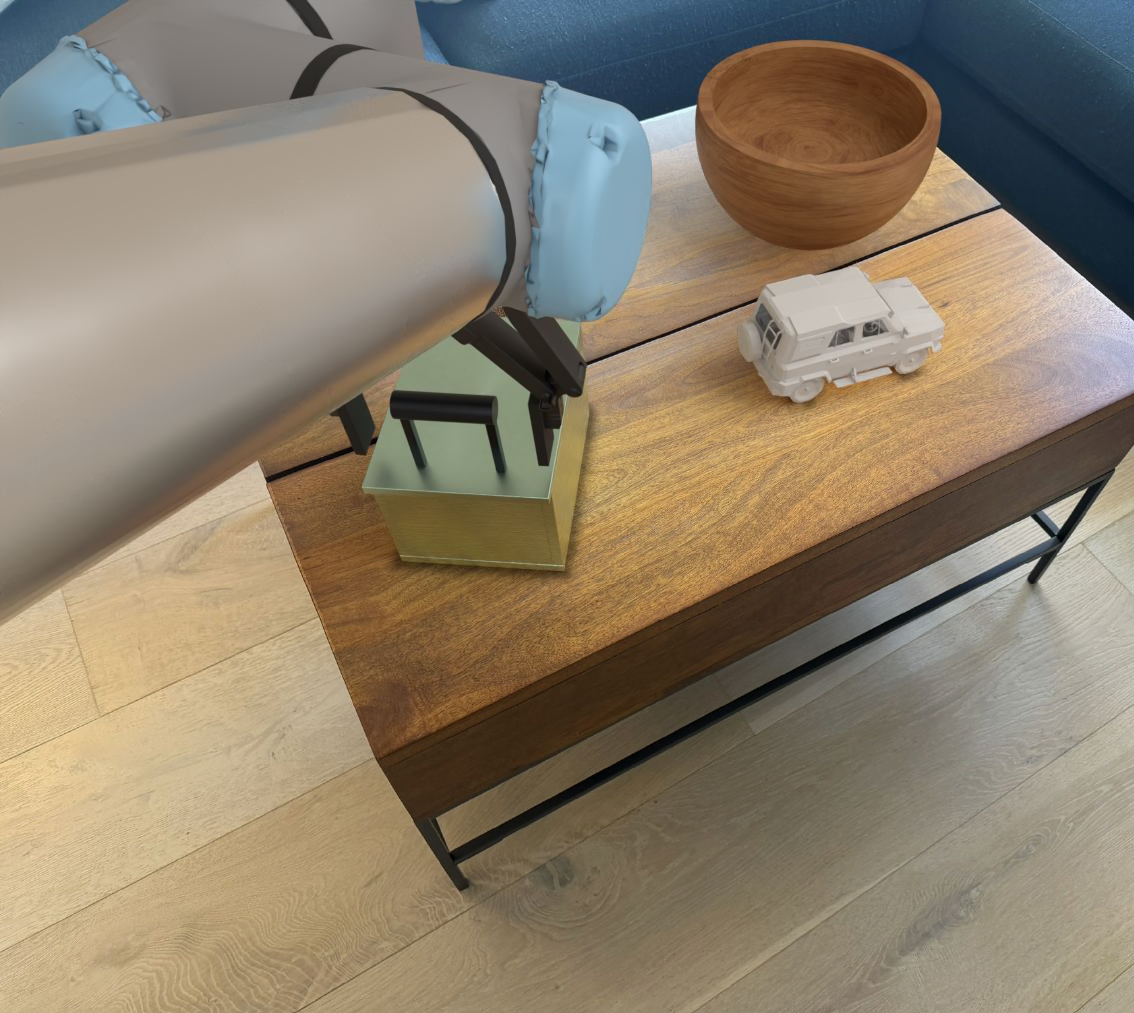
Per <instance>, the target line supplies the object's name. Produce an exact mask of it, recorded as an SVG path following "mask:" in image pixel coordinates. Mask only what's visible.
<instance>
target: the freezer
mask: <svg viewBox="0 0 1134 1013" xmlns="http://www.w3.org/2000/svg"><path fill="white" fill-rule="evenodd" d="M584 348H585V347H584V338H583V329H582V328H581V334H580V339H579V345H578V352H579V353H580V355H581V356H582V357H583V359H584V360H585V361H586V359H585V350H584ZM587 381H588V380H587V374H586V375H585V381H584V387H583V393H582V395H581V396H580V397H576V398H574V397H570V396H569V400H568V406H567V411H566V417H565V422H564V428H563V433H562V439H561V444H560V450H559V455H558V461H557V466H556V472H555V477H554V483H553V488H552V494H551V499H550V504H549V505H546V504H530V503H513V502H497V501H481V500H464V499H448V498H432V497H416V496H399V495H383V494H372V495H373V497H374V500H375V502H376V504H377V507H378V509H379V511H380V513H381V516H382V518H383V520H384V523H385V525H386V527H387V530H388V532H389V534H390V537H391V539H392V542H393V543H394V546H395V549H396V550H397V553H398V555H399V558H400V559H401V562H410V563H423V564H424V563H425V564H442V565H457V566H470V567H471V566H472V567H473V566H474V567H487V568H502V569H503V568H504V569H518V570H519V569H521V570H535V571H551V572H565V569H566V564H567V563H566V562H567V556H568V552H569V551H568V550H569V544H570V537H571V531H572V526H573V520H574V512H575V507H576V500H577V494H578V488H579V481H580V475H581V469H582V463H583V456H584V451H585V445H586V439H587V438H586V437H587V434H588V427H589V419H590V403H589V402H590V401H589V393H588V392H589V391H588V382H587Z"/></svg>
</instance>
